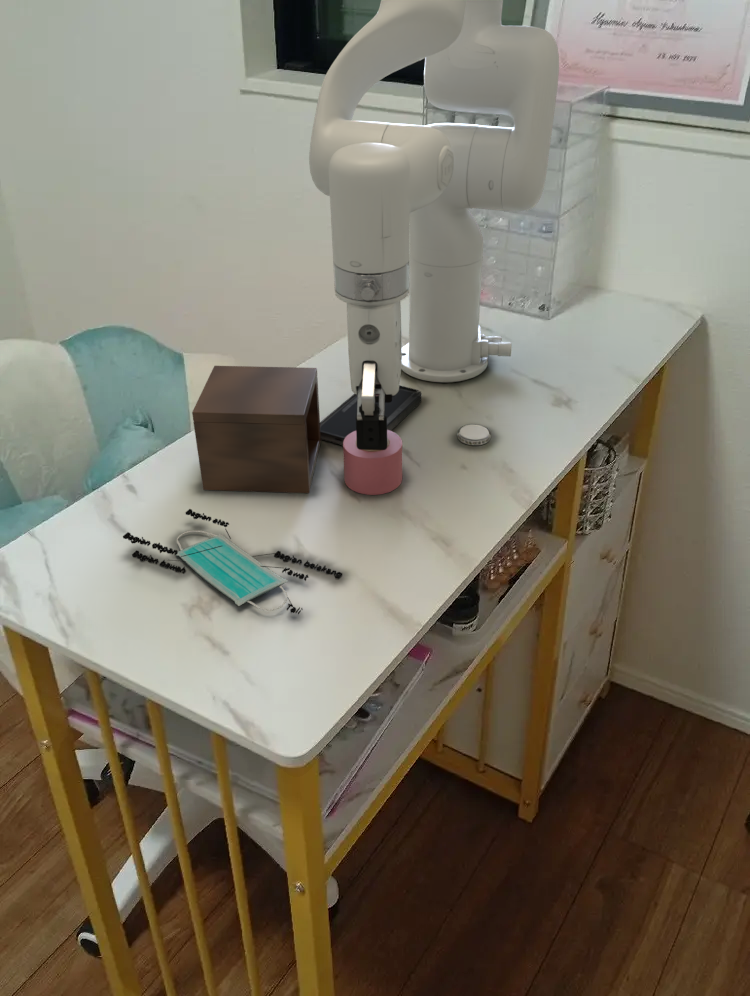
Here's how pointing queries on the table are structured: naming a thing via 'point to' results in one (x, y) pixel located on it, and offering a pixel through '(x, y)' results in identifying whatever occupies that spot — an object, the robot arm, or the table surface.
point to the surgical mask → (228, 566)
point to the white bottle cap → (474, 434)
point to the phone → (345, 414)
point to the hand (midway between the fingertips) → (375, 423)
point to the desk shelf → (258, 429)
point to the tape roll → (373, 466)
